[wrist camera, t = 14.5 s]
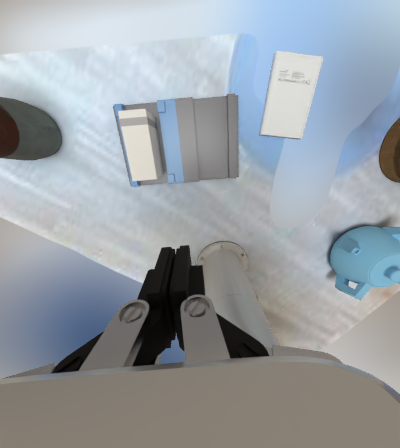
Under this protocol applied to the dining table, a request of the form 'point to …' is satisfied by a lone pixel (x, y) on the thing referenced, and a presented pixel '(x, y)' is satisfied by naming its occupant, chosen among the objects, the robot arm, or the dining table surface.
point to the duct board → (192, 138)
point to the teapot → (366, 259)
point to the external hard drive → (289, 94)
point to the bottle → (26, 131)
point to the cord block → (141, 144)
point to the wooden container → (391, 153)
